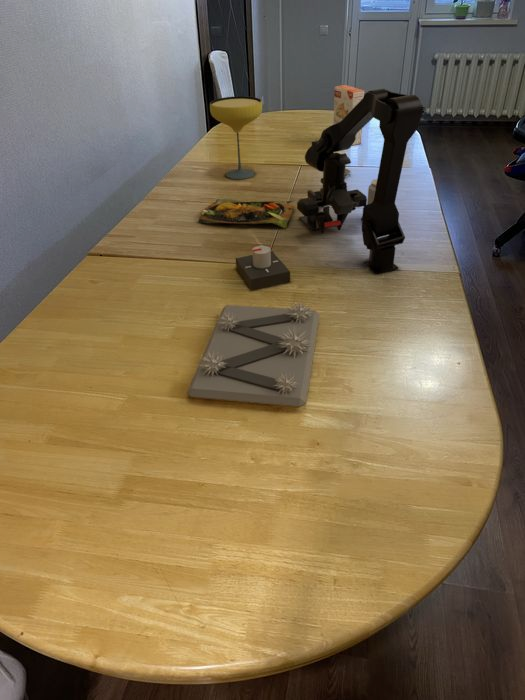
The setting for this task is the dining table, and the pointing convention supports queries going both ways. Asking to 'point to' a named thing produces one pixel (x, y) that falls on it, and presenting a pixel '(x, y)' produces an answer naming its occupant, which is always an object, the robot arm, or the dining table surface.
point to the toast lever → (327, 214)
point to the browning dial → (261, 257)
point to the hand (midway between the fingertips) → (330, 231)
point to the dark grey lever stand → (311, 220)
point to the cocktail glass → (237, 122)
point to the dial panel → (262, 272)
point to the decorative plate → (258, 356)
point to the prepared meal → (248, 212)
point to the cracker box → (346, 104)
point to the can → (371, 191)
